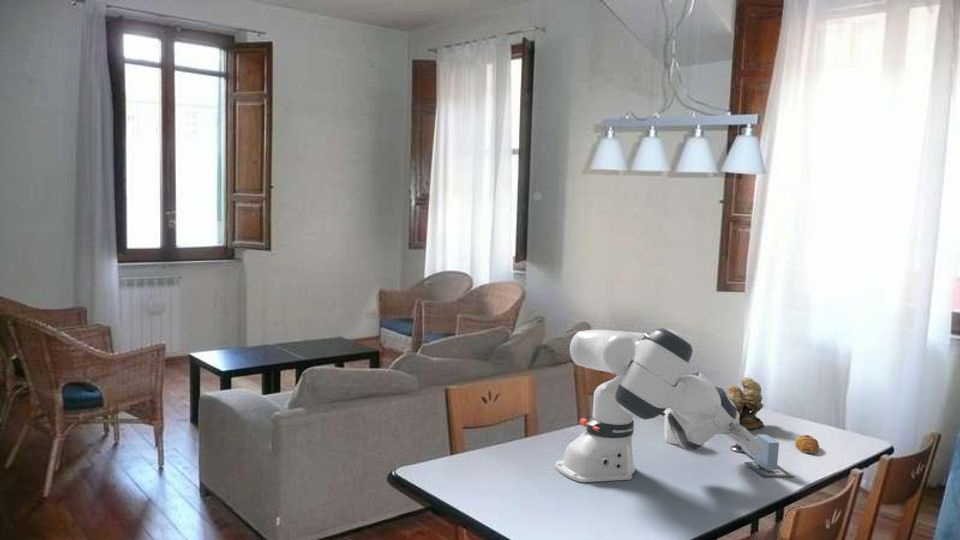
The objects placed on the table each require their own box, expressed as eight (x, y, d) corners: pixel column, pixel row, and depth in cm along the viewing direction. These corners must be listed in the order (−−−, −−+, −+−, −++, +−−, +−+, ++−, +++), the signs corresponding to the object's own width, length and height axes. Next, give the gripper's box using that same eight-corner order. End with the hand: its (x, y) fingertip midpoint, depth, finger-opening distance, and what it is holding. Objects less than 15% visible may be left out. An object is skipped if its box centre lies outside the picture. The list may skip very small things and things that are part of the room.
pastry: (822, 456, 225) (823, 444, 225) (798, 454, 227) (799, 442, 227) (816, 446, 235) (817, 435, 234) (793, 444, 236) (794, 432, 236)
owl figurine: (745, 417, 263) (749, 370, 261) (773, 427, 253) (778, 379, 251) (709, 423, 254) (714, 374, 252) (737, 434, 244) (742, 383, 242)
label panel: (763, 477, 205) (763, 475, 205) (744, 463, 216) (744, 461, 216) (793, 477, 207) (793, 475, 207) (773, 462, 217) (773, 461, 217)
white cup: (685, 438, 237) (688, 407, 236) (690, 446, 229) (692, 415, 228) (660, 436, 237) (663, 406, 236) (664, 444, 230) (666, 413, 229)
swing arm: (729, 444, 229) (731, 419, 228) (742, 444, 230) (744, 419, 229) (764, 470, 208) (766, 442, 208) (778, 470, 209) (781, 442, 208)
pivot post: (739, 453, 224) (740, 441, 224) (726, 448, 229) (727, 436, 228) (751, 451, 226) (752, 439, 226) (739, 446, 231) (740, 434, 231)
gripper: (748, 422, 200) (779, 457, 202) (715, 400, 220) (743, 432, 222) (731, 438, 199) (762, 472, 202) (699, 415, 220) (728, 446, 222)
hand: (752, 451), depth 212 cm, fingers closed
